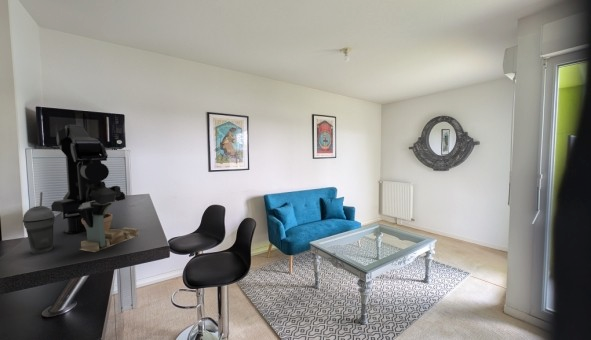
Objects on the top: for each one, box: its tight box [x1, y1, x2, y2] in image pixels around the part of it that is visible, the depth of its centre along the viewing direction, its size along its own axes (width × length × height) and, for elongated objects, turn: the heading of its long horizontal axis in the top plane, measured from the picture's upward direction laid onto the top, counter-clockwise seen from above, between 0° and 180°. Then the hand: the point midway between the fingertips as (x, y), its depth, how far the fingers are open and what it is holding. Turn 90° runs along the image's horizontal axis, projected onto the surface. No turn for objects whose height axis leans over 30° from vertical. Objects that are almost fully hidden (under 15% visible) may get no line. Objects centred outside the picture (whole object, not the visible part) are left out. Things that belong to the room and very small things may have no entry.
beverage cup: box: [22, 191, 56, 255], centre depth 80 cm, size 7×7×20 cm
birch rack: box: [79, 227, 140, 253], centre depth 88 cm, size 16×7×4 cm, turn 162°
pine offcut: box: [105, 228, 124, 239], centre depth 87 cm, size 4×5×2 cm
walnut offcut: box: [109, 235, 126, 246], centre depth 88 cm, size 5×6×2 cm
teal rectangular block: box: [85, 214, 106, 247], centre depth 82 cm, size 2×6×10 cm, turn 72°
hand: (94, 226), depth 82 cm, fingers closed on teal rectangular block, 1 cm apart
